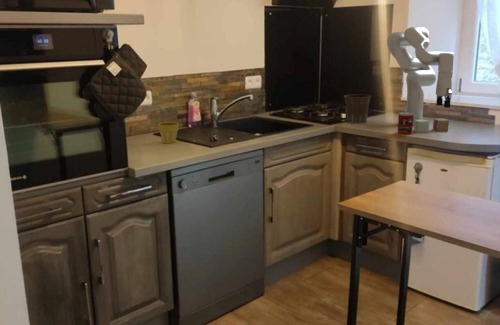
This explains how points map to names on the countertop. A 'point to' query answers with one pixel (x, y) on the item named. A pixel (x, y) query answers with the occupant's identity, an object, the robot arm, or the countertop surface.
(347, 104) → the plant pot
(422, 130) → the cube sage
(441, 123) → the cube walnut
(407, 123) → the canned food
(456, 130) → the countertop surface
